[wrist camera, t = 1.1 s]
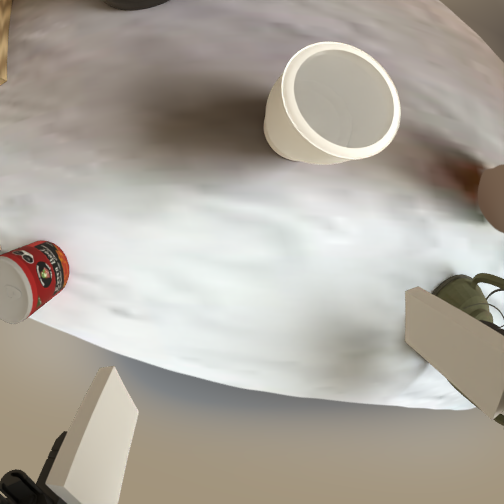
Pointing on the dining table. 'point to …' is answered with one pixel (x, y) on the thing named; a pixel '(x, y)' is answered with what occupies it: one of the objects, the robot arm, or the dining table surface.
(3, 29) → the shell cradle
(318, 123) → the jar
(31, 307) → the canned food
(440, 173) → the dining table surface
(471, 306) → the lantern
